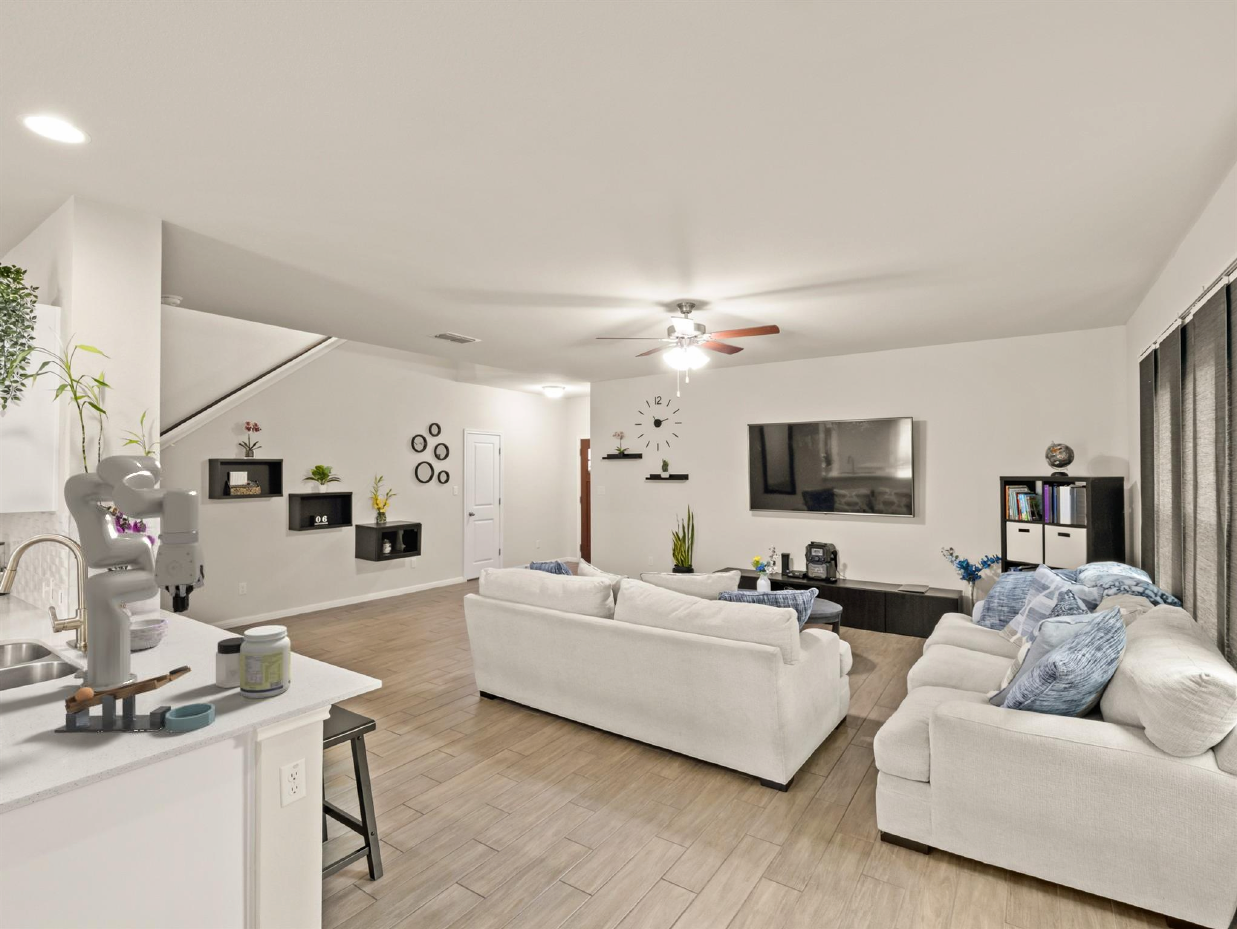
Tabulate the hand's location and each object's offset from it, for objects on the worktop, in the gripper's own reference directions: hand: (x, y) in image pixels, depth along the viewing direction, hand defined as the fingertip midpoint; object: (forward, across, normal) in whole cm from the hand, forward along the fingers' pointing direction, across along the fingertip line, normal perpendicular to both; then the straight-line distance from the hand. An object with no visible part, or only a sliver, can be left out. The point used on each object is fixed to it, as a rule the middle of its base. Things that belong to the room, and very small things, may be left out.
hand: (180, 611), depth 163 cm
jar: (+25, +3, +19) cm, 32 cm away
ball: (+18, -17, -9) cm, 26 cm away
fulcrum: (+25, -9, -9) cm, 28 cm away
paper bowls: (+25, -47, +56) cm, 78 cm away
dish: (+25, +7, -9) cm, 28 cm away
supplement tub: (+25, +15, +12) cm, 32 cm away
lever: (+19, -9, -5) cm, 21 cm away
